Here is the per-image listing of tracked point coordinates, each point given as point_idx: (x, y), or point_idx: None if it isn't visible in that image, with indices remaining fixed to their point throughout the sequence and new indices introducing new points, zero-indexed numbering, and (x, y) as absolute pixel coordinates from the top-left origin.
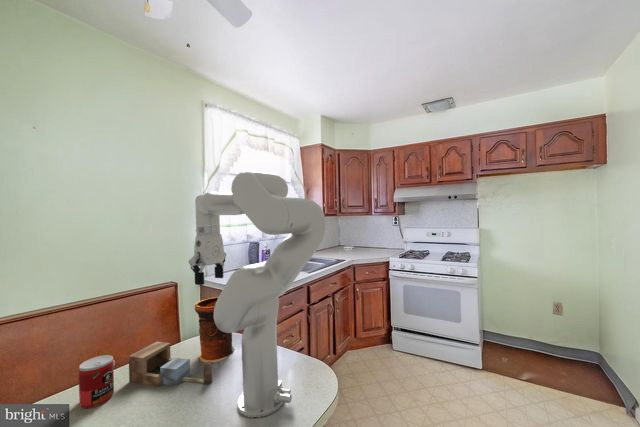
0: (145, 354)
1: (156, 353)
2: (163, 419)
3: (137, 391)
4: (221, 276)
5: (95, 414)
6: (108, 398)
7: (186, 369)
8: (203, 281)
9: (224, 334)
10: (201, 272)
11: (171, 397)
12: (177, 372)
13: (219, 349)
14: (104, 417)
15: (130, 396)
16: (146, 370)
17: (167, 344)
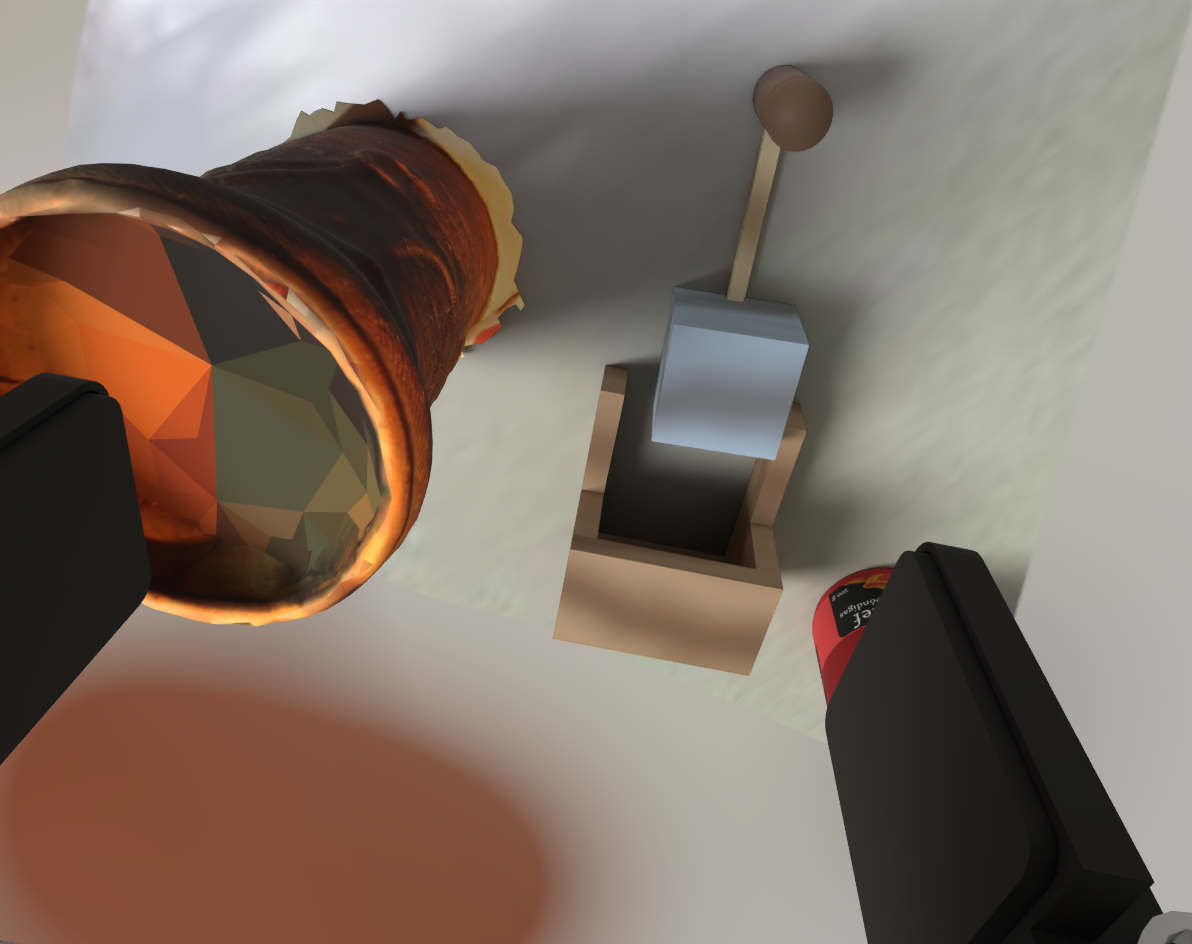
0: (734, 603)
1: (684, 558)
2: (1125, 182)
3: (828, 485)
4: (88, 422)
5: (989, 549)
6: (891, 571)
7: (708, 310)
8: (982, 594)
9: (379, 175)
10: (1172, 914)
11: (914, 263)
12: (793, 331)
13: (449, 189)
14: (1022, 498)
15: (869, 491)
16: (753, 530)
17: (593, 553)
